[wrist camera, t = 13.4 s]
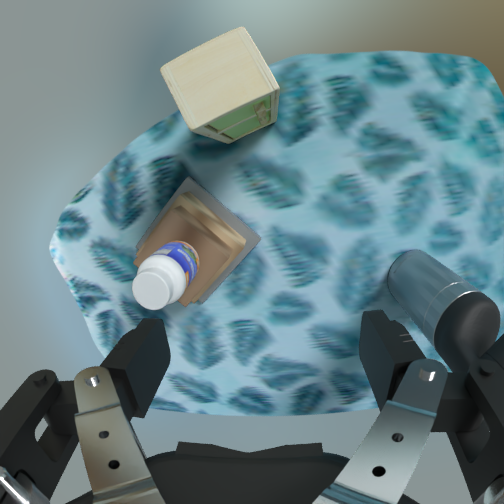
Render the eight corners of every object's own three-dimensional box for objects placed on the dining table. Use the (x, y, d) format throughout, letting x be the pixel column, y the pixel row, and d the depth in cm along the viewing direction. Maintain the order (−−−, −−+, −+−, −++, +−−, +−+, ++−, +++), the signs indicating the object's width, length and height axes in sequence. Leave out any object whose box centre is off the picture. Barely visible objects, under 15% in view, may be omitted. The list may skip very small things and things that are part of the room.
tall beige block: (229, 150, 42) (192, 139, 22) (207, 107, 41) (156, 66, 20) (279, 126, 41) (286, 94, 21) (257, 83, 39) (245, 22, 19)
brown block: (246, 240, 45) (240, 257, 36) (200, 291, 47) (187, 316, 39) (188, 191, 43) (170, 198, 35) (147, 246, 46) (123, 263, 38)
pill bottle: (206, 274, 37) (186, 310, 28) (168, 285, 38) (139, 322, 29) (191, 233, 36) (164, 258, 27) (152, 246, 37) (117, 273, 27)
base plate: (261, 237, 46) (261, 239, 44) (204, 300, 49) (202, 303, 48) (189, 176, 44) (187, 176, 42) (138, 244, 47) (135, 246, 46)
